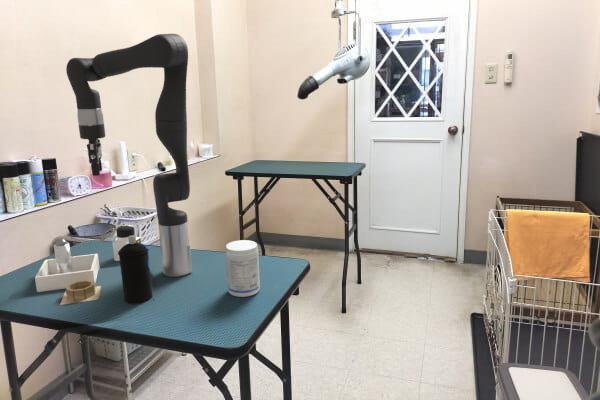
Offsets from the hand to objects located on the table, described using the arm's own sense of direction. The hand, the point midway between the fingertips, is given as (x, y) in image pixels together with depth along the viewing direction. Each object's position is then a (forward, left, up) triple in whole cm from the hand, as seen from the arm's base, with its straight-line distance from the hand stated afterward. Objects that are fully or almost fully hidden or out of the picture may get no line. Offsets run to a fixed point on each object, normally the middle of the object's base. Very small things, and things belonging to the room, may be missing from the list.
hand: (97, 173), depth 157 cm
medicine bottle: (-6, -8, -33) cm, 35 cm away
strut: (+12, +9, -32) cm, 35 cm away
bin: (+11, +9, -33) cm, 36 cm away
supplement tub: (-40, +35, -33) cm, 63 cm away
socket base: (+6, +24, -33) cm, 41 cm away
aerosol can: (-10, +32, -33) cm, 47 cm away
